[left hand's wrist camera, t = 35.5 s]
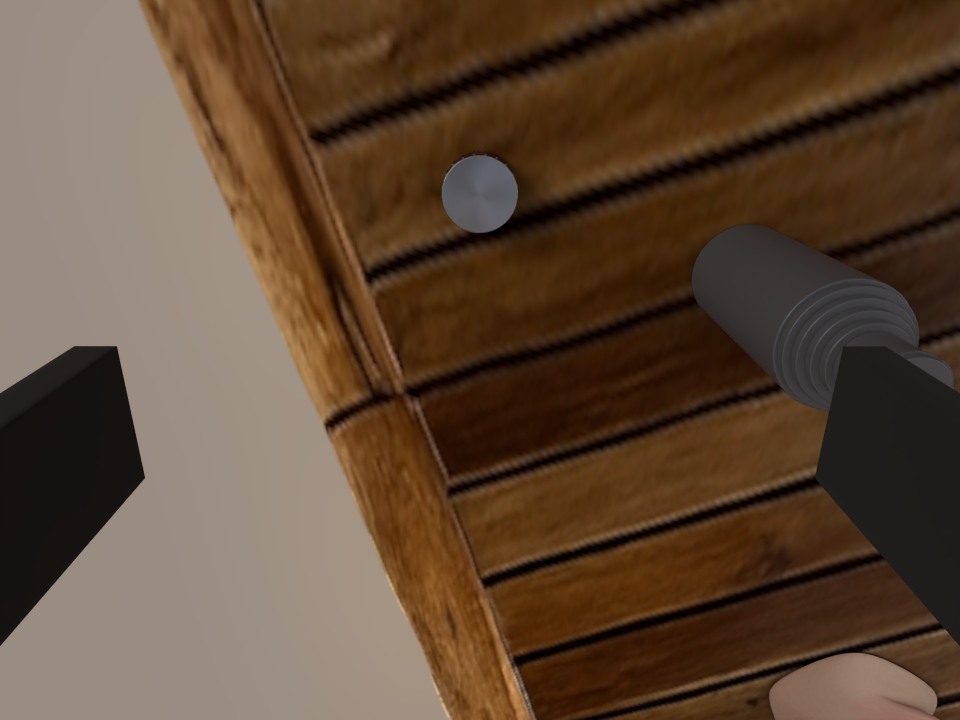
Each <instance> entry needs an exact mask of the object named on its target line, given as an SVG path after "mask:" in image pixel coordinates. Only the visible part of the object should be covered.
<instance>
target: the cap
mask: <svg viewBox="0 0 960 720" xmlns="http://www.w3.org/2000/svg"><path fill="white" fill-rule="evenodd" d="M517 186H518V184H517V181H516V180H515V178H514V173H513V171H512V170H511V169H510V168H509V166H508V165H507V164H506V161H503V160H502V159H501V158H499V157H498V156H497V155H496V154H495V155H494V154H491V153H487V152H486V151H485V152H475V151H473V152H472V153H469V154H466V155H463V156H462V157H460V158H459V159H458V160H456V161H454V162H453V165H452V166H451V167H450V169H449V170H447V172H446V177H445V180H444V181H443V183H442V195H441V198H442V202H443V206H444V209H445V211H446V213H447V215H448V216H449V218H450V219H451V220H452V221H453V222H454V223H455V224H456V225H458V226H459V227H461V228H462V229H464V230H467V231H470V232H475V233H485V232H490V231H493V230H495V229H497V228H499V227H501V226H502V225H503V224H505V223H506V222H507V221H508V220H509V218H510V217H511V216H512V214H513V212H514V210H515V208H516V204H517V199H518V189H517Z"/></svg>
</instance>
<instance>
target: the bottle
mask: <svg viewBox="0 0 960 720" xmlns="http://www.w3.org/2000/svg"><path fill="white" fill-rule="evenodd" d="M692 289H693V293H694V296H695V299H696V301H697V303H698V304H699V306H700V307H701V308H702V309H703V310H704V311H705V312H706V313H707V314H708V315H709V316H710V317H711V318H712V319H713V320H714V321H715V322H716V323H717V324H718V325H719V326H720V327H721V328H722V329H723V330H724V331H725V332H726V333H727V334H728V335H729V336H730V337H731V338H732V339H733V340H734V341H735V342H736V343H737V344H738V345H739V346H740V347H741V348H742V349H743V350H744V351H745V352H746V353H747V354H748V355H749V356H750V357H751V358H752V359H753V360H754V361H755V362H756V363H757V364H758V365H759V366H760V367H761V368H762V369H763V370H764V371H765V372H766V373H767V374H768V375H769V376H770V377H771V378H772V379H773V380H774V381H775V382H776V383H777V384H778V385H779V386H780V387H781V388H782V389H783V390H784V391H785V392H786V393H787V394H788V395H790V396H791V397H792V398H793V399H795V400H796V401H798V402H800V403H802V404H804V405H807V406H809V407H813V408H817V409H821V410H826V411H829V410H830V405H831V401H832V396H833V391H834V387H835V382H836V377H837V373H838V368H839V363H840V359H841V354H842V349H843V346H886V347H887V348H889V349H891V350H892V351H894V352H895V353H897V354H898V355H900V356H902V357H903V358H905V359H906V360H908V361H910V362H911V363H913V364H914V365H916V366H917V367H919V368H921V369H922V370H924V371H925V372H927V373H928V374H930V375H932V376H933V377H935V378H936V379H938V380H940V381H941V382H943V383H944V384H946V385H947V386H949V387H951V388H952V389H954V386H955V381H954V374H953V372H952V370H951V368H950V366H949V365H948V364H947V363H946V362H944V361H943V360H942V359H941V360H940V359H939V358H938V357H937V356H935V355H933V354H931V353H929V352H925V351H922V350H920V349H918V345H919V328H918V323H917V320H916V317H915V315H914V313H913V311H912V309H911V307H910V306H909V304H908V302H907V301H906V300H905V298H904V297H903V296H902V295H901V294H900V293H899V292H898V291H897V290H895V289H894V288H892V287H891V286H889V285H887V284H885V283H883V282H881V281H879V280H877V279H875V278H873V277H871V276H869V275H867V274H864V273H862V272H860V271H858V270H856V269H854V268H852V267H850V266H848V265H846V264H844V263H841V262H839V261H837V260H835V259H833V258H831V257H829V256H827V255H825V254H823V253H821V252H819V251H816V250H814V249H812V248H810V247H808V246H806V245H804V244H802V243H800V242H798V241H796V240H793V239H791V238H789V237H787V236H785V235H783V234H781V233H779V232H777V231H775V230H773V229H770V228H768V227H765V226H761V225H755V224H745V225H739V226H735V227H732V228H729V229H727V230H725V231H723V232H721V233H719V234H718V235H717V236H715V237H714V238H713V239H711V240H710V241H709V242H708V243H707V244H706V246H705V247H704V248H703V249H702V251H701V252H700V254H699V256H698V258H697V259H696V262H695V265H694V268H693V272H692Z"/></svg>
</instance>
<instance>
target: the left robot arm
mask: <svg viewBox="0 0 960 720" xmlns="http://www.w3.org/2000/svg"><path fill="white" fill-rule="evenodd" d="M144 479H145V476H144V471H143V466H142V462H141V457H140V452H139V447H138V443H137V438H136V433H135V429H134V424H133V419H132V415H131V410H130V405H129V401H128V396H127V391H126V387H125V382H124V378H123V373H122V368H121V364H120V359H119V354H118V349H117V346H74V347H73V348H71V349H69V350H68V351H66V352H65V353H63V354H62V355H60V356H58V357H57V358H55V359H54V360H52V361H50V362H49V363H47V364H46V365H44V366H43V367H41V368H39V369H38V370H36V371H35V372H33V373H32V374H30V375H28V376H27V377H25V378H24V379H22V380H20V381H19V382H17V383H16V384H14V385H13V386H11V387H9V388H8V389H6V390H5V391H3V392H2V393H0V646H1V644H2V643H3V642H4V641H5V640H6V639H7V638H8V636H9V635H10V634H11V633H12V632H13V631H14V629H15V628H16V627H17V626H18V625H19V624H20V622H21V621H22V620H23V619H24V618H25V617H26V615H27V614H28V613H29V612H30V611H31V610H32V609H33V607H34V606H35V605H36V604H37V603H38V602H39V600H40V599H41V598H42V597H43V596H44V595H45V593H46V592H47V591H48V590H49V589H50V588H51V586H52V585H53V584H54V583H55V582H56V581H57V580H58V578H59V577H60V576H61V575H62V574H63V573H64V571H65V570H66V569H67V568H68V567H69V566H70V564H71V563H72V562H73V561H74V560H75V559H76V557H77V556H78V555H79V554H80V553H81V552H82V550H83V549H84V548H85V547H86V546H87V545H88V544H89V542H90V541H91V540H92V539H93V538H94V537H95V535H96V534H97V533H98V532H99V531H100V530H101V528H102V527H103V526H104V525H105V524H106V523H107V522H108V520H109V519H110V518H111V517H112V516H113V515H114V513H115V512H116V511H117V510H118V509H119V508H120V506H121V505H122V504H123V503H124V502H125V501H126V499H127V498H128V497H129V496H130V495H131V494H132V493H133V491H134V490H135V489H136V488H137V487H138V486H139V484H140V483H141V482H142V481H143V480H144ZM815 479H816V480H817V481H818V482H819V483H820V484H821V486H822V487H823V488H824V489H825V490H826V491H827V493H828V494H829V495H830V496H831V497H832V498H833V499H834V501H835V502H836V503H837V504H838V505H839V506H840V508H841V509H842V510H843V511H844V512H845V513H846V515H847V516H848V517H849V518H850V519H851V520H852V522H853V523H854V524H855V525H856V526H857V527H858V528H859V530H860V531H861V532H862V533H863V534H864V535H865V537H866V538H867V539H868V540H869V541H870V542H871V544H872V545H873V546H874V547H875V548H876V549H877V551H878V552H879V553H880V554H881V555H882V556H883V558H884V559H885V560H886V561H887V562H888V563H889V564H890V566H891V567H892V568H893V569H894V570H895V571H896V573H897V574H898V575H899V576H900V577H901V578H902V580H903V581H904V582H905V583H906V584H907V585H908V587H909V588H910V589H911V590H912V591H913V592H914V593H915V595H916V596H917V597H918V598H919V599H920V600H921V602H922V603H923V604H924V605H925V606H926V607H927V609H928V610H929V611H930V612H931V613H932V614H933V616H934V617H935V618H936V619H937V620H938V621H939V622H940V624H941V625H942V626H943V627H944V628H945V629H946V631H947V632H948V633H949V634H950V635H951V636H952V638H953V639H954V640H955V641H956V642H957V643H958V645H959V646H960V393H958V392H957V391H955V390H954V389H952V388H951V387H949V386H947V385H946V384H944V383H943V382H941V381H940V380H938V379H936V378H935V377H933V376H932V375H930V374H928V373H927V372H925V371H924V370H922V369H921V368H919V367H917V366H916V365H914V364H913V363H911V362H910V361H908V360H906V359H905V358H903V357H902V356H900V355H898V354H897V353H895V352H894V351H892V350H891V349H889V348H887V347H886V346H843V349H842V354H841V359H840V363H839V368H838V373H837V377H836V382H835V387H834V391H833V396H832V401H831V405H830V410H829V415H828V419H827V424H826V429H825V433H824V438H823V443H822V447H821V452H820V457H819V461H818V466H817V471H816V475H815Z"/></svg>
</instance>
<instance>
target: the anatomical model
mask: <svg viewBox="0 0 960 720" xmlns="http://www.w3.org/2000/svg"><path fill="white" fill-rule="evenodd" d="M769 700H770V706H771V708H772V711H773V714H774V717H775V720H940V719H938V718H936V717H934V716H933V713H934V711H935V709H936V705H937V697H936V694H935V692H934V691H933V690H932V688H931V687H929V686H928V685H927V684H926V683H925V682H924V681H922V680H921V679H919V678H918V677H916V676H915V675H913V674H912V673H910V672H908V671H907V670H905V669H903V668H901V667H899V666H897V665H895V664H893V663H891V662H889V661H887V660H884V659H882V658H879V657H876V656H873V655H869V654H864V653H844V654H839V655H835V656H831V657H828V658H825V659H822V660H819V661H816V662H814V663H811V664H809V665H807V666H804V667H802V668H800V669H798V670H796V671H794V672H792V673H790V674H788V675H787V676H785V677H783V678H782V679H780V680H779V681H778V682H776V683H775V684H774V685H773V687H772V688H771V690H770V693H769Z"/></svg>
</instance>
